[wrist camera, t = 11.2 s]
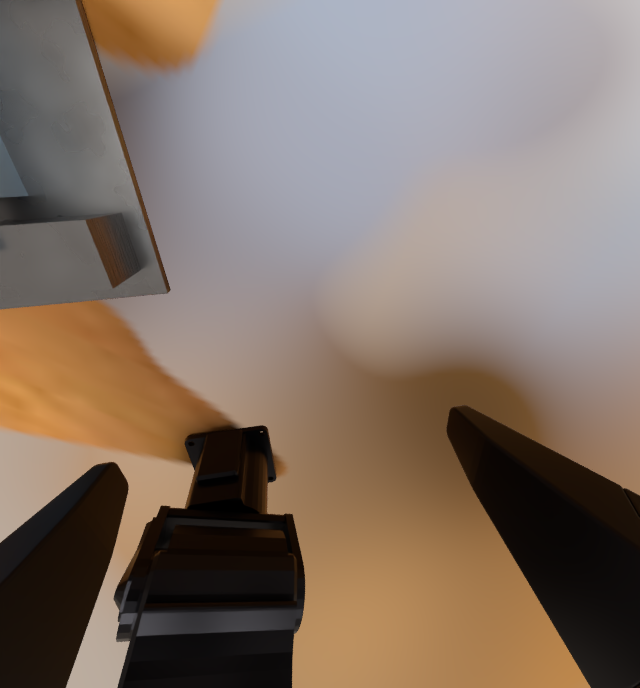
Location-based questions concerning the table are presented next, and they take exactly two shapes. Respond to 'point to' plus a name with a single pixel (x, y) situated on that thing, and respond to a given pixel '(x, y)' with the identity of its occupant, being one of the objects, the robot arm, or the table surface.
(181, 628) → the robot arm
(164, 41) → the table surface
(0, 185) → the block
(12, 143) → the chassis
